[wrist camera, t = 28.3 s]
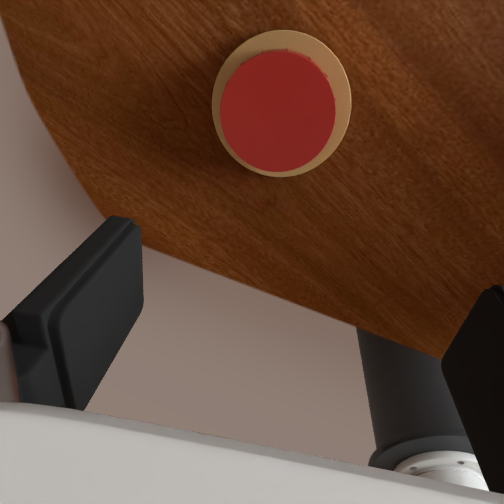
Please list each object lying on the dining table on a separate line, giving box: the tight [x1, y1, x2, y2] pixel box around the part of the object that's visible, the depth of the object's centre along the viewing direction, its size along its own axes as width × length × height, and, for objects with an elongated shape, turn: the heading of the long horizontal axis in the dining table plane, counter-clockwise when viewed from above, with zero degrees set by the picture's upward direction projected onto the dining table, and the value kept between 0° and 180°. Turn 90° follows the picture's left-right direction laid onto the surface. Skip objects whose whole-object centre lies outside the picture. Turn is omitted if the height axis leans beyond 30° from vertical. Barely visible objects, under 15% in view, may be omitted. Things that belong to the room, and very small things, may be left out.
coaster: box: [212, 30, 351, 177], centre depth 24 cm, size 9×9×1 cm
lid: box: [220, 48, 336, 172], centre depth 23 cm, size 7×7×2 cm
